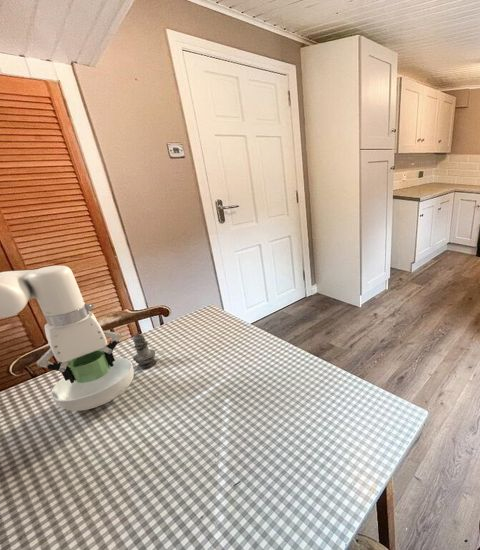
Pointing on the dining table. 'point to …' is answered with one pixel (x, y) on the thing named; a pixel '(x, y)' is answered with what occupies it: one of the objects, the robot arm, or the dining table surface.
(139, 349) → the grey tall carved piece
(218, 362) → the dining table surface
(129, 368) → the cereal bowl
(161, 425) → the dining table surface
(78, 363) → the green bowl
